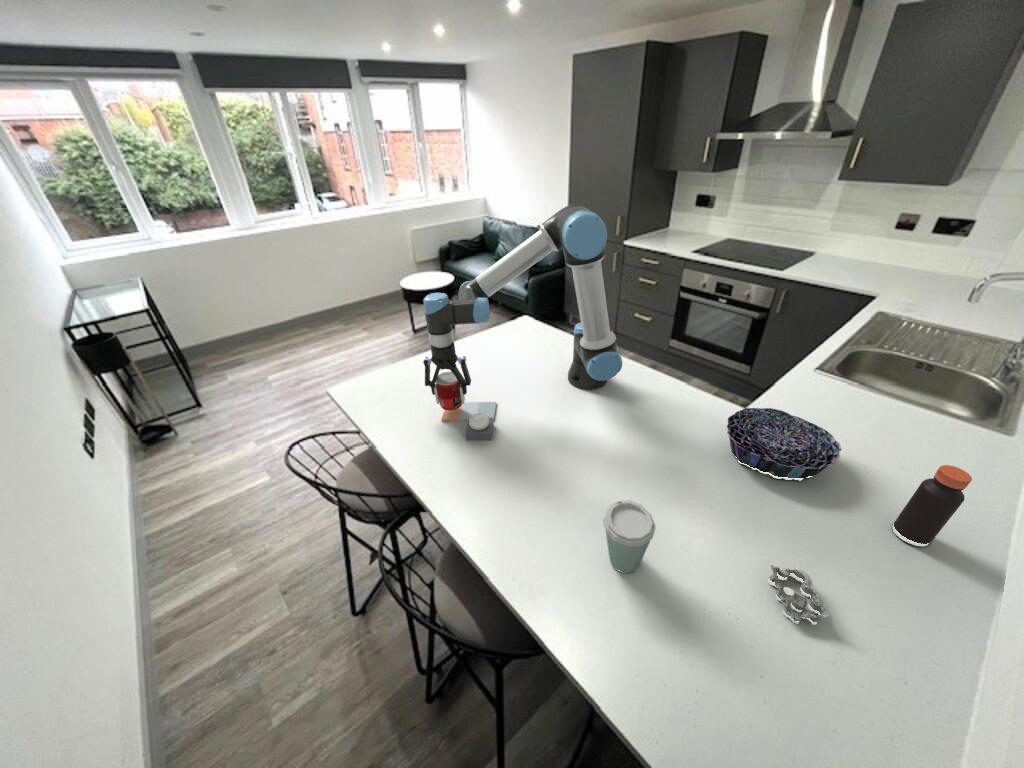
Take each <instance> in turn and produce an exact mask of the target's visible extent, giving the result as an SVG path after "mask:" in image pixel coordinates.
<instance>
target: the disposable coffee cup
mask: <svg viewBox="0 0 1024 768" xmlns="http://www.w3.org/2000/svg"><path fill="white" fill-rule="evenodd" d="M602 523H603V528H604V531H605V536H606V538H605V539H606V544H607V552H608V558H609V561H610V564H611V566H612V567H613V566H614V567H615V568H616V569H617V570H616V569H615V568H614V567H613V568H614V569H615V570H616V571H618V570H620V571H622V572H621V573H623V572H632V573H633V572H634V571H637V569H639V567H640V565H641V563H642V560H643V558H644V556H645V554H646V552H647V549H648V547H649V545H650V542H651V540H653V538H654V535H655V530H656V524H655V521H654V519H653V516H652V514H651V513H650V511H649V510H647V509H646V508H645V507H644V506H643V504H641V503H638V502H635V501H633V500H630V499H626V500H624V499H623V500H618V501H615V502H614V503H612V504H610V505H609V506H608V508H607V509H606V511H605V514H604V515H603V518H602ZM620 571H619V572H620Z"/></svg>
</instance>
